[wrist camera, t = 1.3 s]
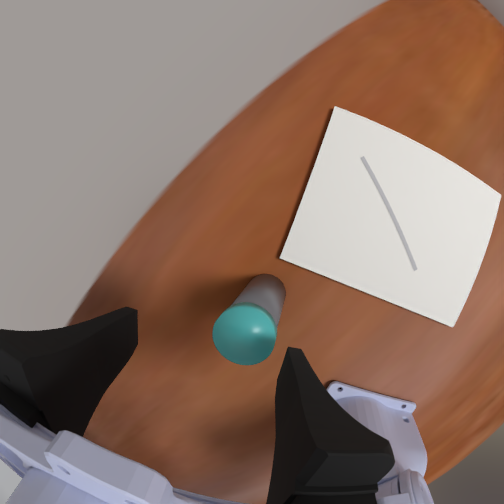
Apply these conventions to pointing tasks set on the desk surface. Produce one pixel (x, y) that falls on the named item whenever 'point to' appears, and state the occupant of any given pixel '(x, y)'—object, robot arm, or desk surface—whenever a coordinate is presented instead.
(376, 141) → the notepad
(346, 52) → the desk surface
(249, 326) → the marker
